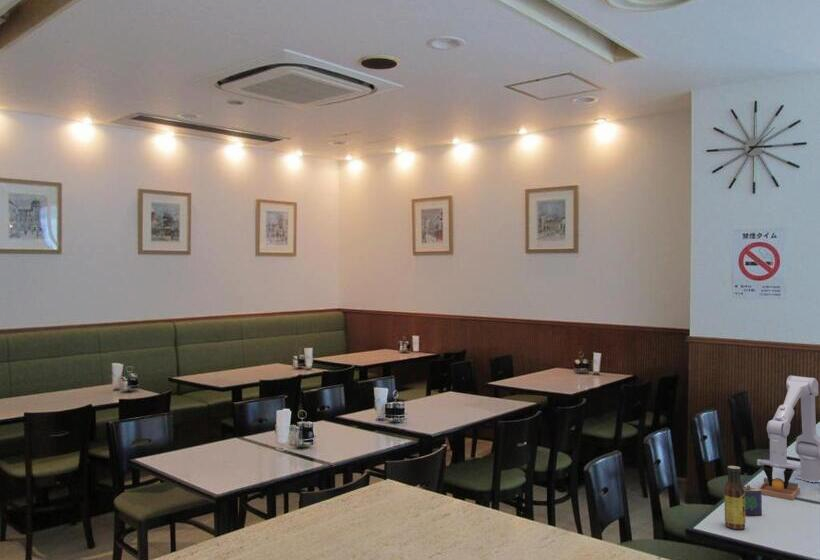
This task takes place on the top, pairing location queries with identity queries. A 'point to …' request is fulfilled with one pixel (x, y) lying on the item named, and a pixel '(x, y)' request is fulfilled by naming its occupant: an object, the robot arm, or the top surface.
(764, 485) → the tray
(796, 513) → the top surface
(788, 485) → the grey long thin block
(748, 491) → the flask
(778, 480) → the ball
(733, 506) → the sauce bottle
